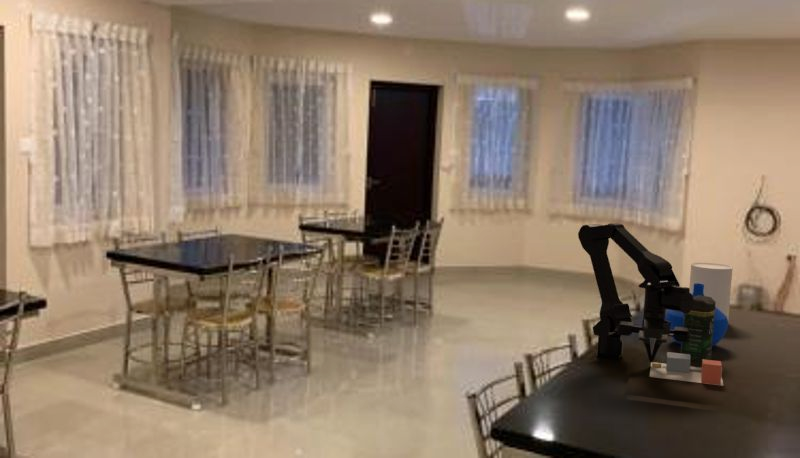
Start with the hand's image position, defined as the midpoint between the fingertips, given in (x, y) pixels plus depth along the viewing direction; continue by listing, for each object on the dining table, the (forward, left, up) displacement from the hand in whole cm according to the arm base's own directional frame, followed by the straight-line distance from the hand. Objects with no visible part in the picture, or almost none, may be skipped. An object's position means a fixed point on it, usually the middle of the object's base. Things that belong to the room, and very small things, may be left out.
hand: (651, 362), depth 217 cm
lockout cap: (+15, -8, -1) cm, 17 cm away
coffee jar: (+12, +16, -2) cm, 20 cm away
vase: (+12, +35, -2) cm, 37 cm away
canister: (+17, +72, -2) cm, 74 cm away
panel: (+9, -3, -2) cm, 10 cm away
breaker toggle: (+7, 0, -1) cm, 7 cm away
